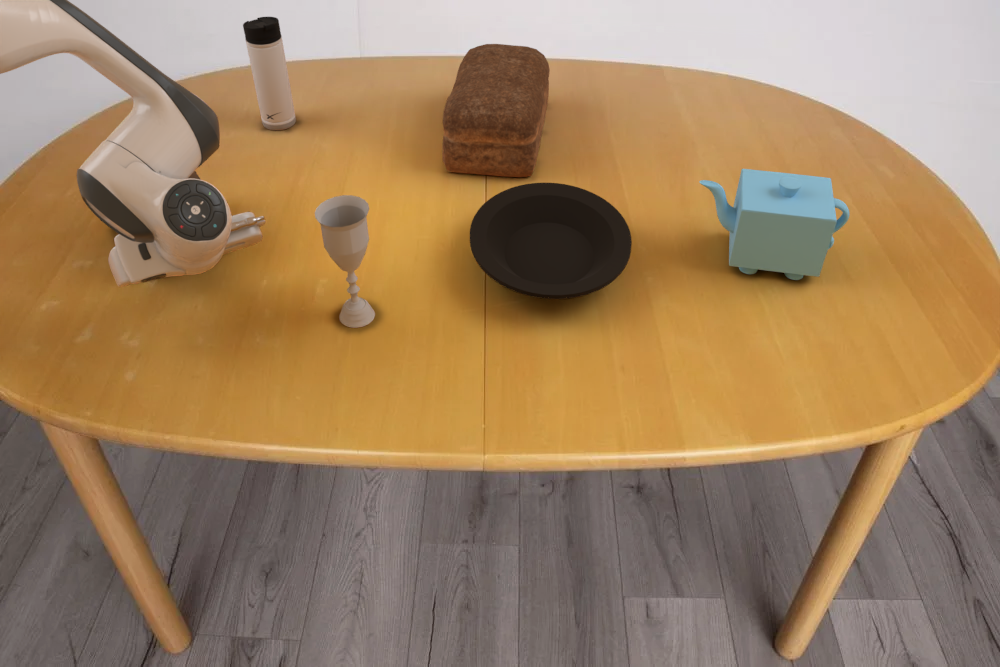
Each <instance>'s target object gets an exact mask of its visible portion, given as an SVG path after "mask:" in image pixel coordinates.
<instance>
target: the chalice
mask: <svg viewBox="0 0 1000 667" xmlns="http://www.w3.org/2000/svg"><path fill="white" fill-rule="evenodd" d="M369 211H370V205H369V202H367V201H366V199H364V198H362V197H360V196H356V195H352V194H348V195H347V194H342V195H337V196H333V197H331V198H328V199H325V200H324V201H322V202H321V203H319V205H318V206H317V207H316V208H315V211H314V218H315V220H316V221H317V222H318V223H319V224H320V228H321V229H320V230H321V236H322V244H323V247H324V249H325V251H326V253H327V254H328V256H329V257H330V258H331V260H332V261H333V262H334V263H335V265H337V267H338V268H339V269H340V270H341V271H343V272H347V277H346V278H345V281H346V282H347V283H348V285H349V286H348V287H347V289H346V291H347V293H348V294H349V295H350V298H348V299H347V300H345V302H344V303H343V304H342V308H341V310H340V313H339V316H338V318H339V322H340V323H341V324H342V325H344V326H345V327H349V328H354V329H355V328H362V327H366V326H368V325H369V324H371V323H372V322H373V321H374V319H375V317H376V312H375V310H374V309H373V307H372V306H371V304H369V302H368V300H366V299H365V298H364V297H360V296H359V295H358V294H359V292H360V291H361V288H360V286H359V285H357V281H358V279H359V278H358V276H357V274H356V273H355V271H356V270H357V269H359V268H360V267H361V264H362V263H363V259H364V257H365V255H366V253H367V250H368V245H369V241H370V234H369V228H368V226H369V225H368V219H367V216H368V214H369Z"/></svg>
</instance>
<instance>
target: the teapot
mask: <svg viewBox="0 0 1000 667" xmlns="http://www.w3.org/2000/svg"><path fill="white" fill-rule="evenodd" d="M738 179H739V180H738V184H737V187H736V193H735V198H734V202H733V206H732V205H731V204H729V202H728V199H727V195H726V191H725V189H724V187H723V186H722V185H721V184H720V183H719V182H717V181H713V180H707V179H701V180H699V184H700V185H702V186H703V187H705V188H706V189H708V190H709V191H710V192H711V194H712V196H713V198H714V202H715V209H716V215H717V218H718V222H719V223H720V225H721V226H722V227H723V228H724V229H725V230H726V231H728V233H729V238H728V239H729V242H728V243H729V244H728V246H729V247H728V266H729V267H736V268H738V269H739V271H740V272H741V273H743V274H746V275H754V274H757V273H758V270H760V271H766V272H767V271H768V272H776V273H784V276H785V277H786V278H787V279H790V280H791V281H799V280H802V279H803V278H804V276H807V277H808V276H809V277H815V278H816V277H818V278H819V277H820V276H821V273H822V270H823V266H824V263H825V260H826V257H827V254H828V251H829V250H830V249H831V248H833V247H834V244H835V237H834V236H833V235H834V234H835V233H837V232H838V231H839V230H841V228H843V227H844V226H845V225H846V224H847V222H848V221H849V219H850V214H851V213H850V209H849V206H848V205H847V204H846V203H845V201H843V200H842V199H839V198H837V197H834V191H833V183H832V182H833V181H832V178H831V177H825V176H816V175H809V174H799V173H798V174H797V173H791V172H790V173H789V172H780V171H769V170H761V169H751V168H742V169H741V170H740V174H739V178H738ZM836 209H838V210H840V211H841V212H842V213H841V215H840V216H839V218H838V219H837V212H836Z"/></svg>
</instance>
